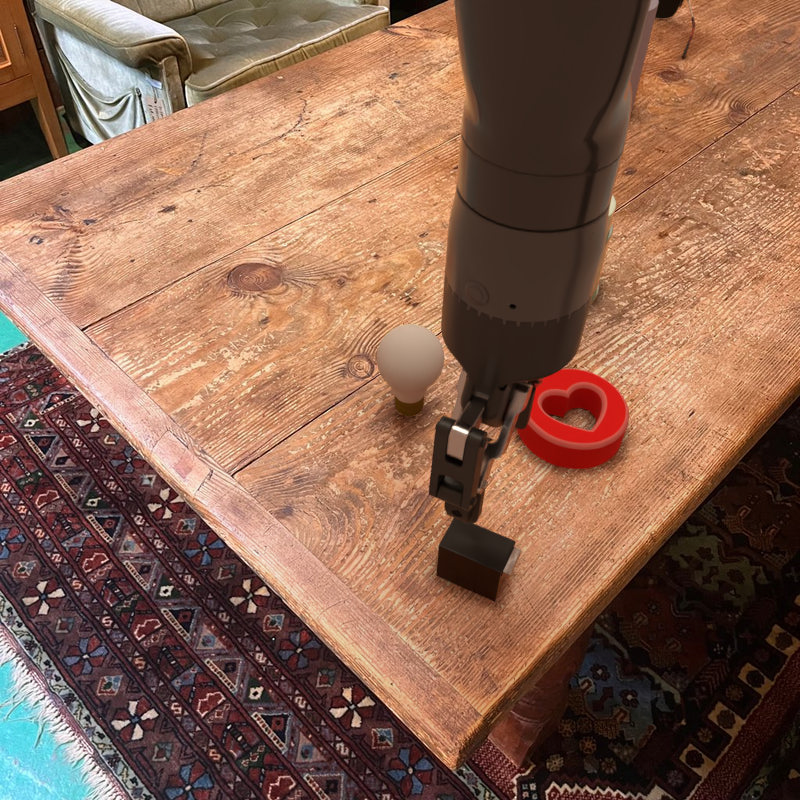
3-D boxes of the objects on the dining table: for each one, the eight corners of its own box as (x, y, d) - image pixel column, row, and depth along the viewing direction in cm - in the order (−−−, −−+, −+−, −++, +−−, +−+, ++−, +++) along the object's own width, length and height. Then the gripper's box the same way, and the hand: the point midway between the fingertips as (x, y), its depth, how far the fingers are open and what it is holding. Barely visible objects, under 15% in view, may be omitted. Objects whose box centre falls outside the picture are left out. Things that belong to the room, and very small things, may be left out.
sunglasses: (680, 19, 135) (689, -11, 131) (691, 65, 124) (701, 34, 121) (601, 14, 136) (607, -16, 132) (605, 59, 125) (612, 29, 122)
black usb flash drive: (516, 574, 61) (523, 543, 57) (502, 605, 59) (508, 576, 55) (451, 546, 62) (454, 515, 59) (435, 576, 60) (438, 545, 57)
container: (628, 92, 116) (653, -15, 105) (635, 126, 109) (663, 15, 98) (559, 88, 116) (577, -19, 105) (562, 122, 109) (581, 11, 98)
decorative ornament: (575, 487, 66) (582, 465, 64) (495, 422, 71) (498, 399, 69) (643, 431, 71) (652, 409, 68) (564, 374, 75) (569, 351, 73)
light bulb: (364, 414, 72) (361, 335, 64) (404, 379, 75) (406, 300, 67) (413, 446, 69) (416, 368, 62) (453, 409, 72) (460, 330, 65)
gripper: (543, 384, 33) (501, 575, 45) (632, 214, 42) (577, 413, 54) (388, 329, 35) (387, 525, 47) (503, 179, 44) (477, 377, 56)
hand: (488, 465), depth 50 cm, fingers open, 8 cm apart
